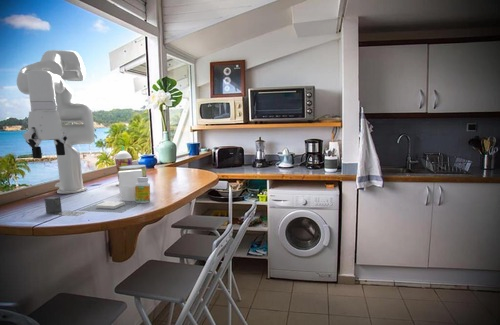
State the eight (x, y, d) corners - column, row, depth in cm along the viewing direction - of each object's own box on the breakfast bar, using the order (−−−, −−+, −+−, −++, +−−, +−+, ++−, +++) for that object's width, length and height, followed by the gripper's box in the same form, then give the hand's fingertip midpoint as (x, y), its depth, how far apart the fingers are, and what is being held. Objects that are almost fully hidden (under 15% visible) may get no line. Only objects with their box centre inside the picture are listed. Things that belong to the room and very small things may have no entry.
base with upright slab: (121, 203, 125) (118, 173, 123) (120, 198, 133) (117, 170, 131) (145, 200, 128) (142, 171, 127) (143, 196, 136) (140, 168, 135)
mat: (78, 212, 114) (77, 210, 114) (103, 203, 127) (102, 201, 126) (121, 214, 110) (121, 212, 110) (143, 204, 122) (142, 202, 122)
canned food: (151, 189, 149) (150, 164, 147) (141, 195, 138) (139, 168, 136) (128, 190, 150) (126, 165, 148) (116, 195, 139) (114, 168, 137)
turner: (43, 216, 111) (41, 199, 110) (55, 212, 115) (53, 196, 115) (77, 217, 107) (75, 200, 106) (88, 213, 112) (86, 197, 111)
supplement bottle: (136, 203, 120) (136, 177, 120) (134, 202, 125) (134, 177, 125) (151, 202, 123) (151, 177, 123) (148, 201, 127) (148, 177, 127)
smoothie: (117, 182, 170) (113, 145, 167) (133, 181, 173) (130, 144, 171) (117, 185, 162) (113, 146, 160) (134, 183, 166) (131, 145, 163)
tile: (95, 205, 116) (114, 205, 114) (106, 201, 122) (125, 201, 120) (96, 208, 116) (114, 209, 114) (107, 204, 122) (125, 204, 120)
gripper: (55, 108, 119) (61, 154, 121) (11, 107, 102) (18, 159, 105) (72, 107, 117) (77, 154, 119) (29, 106, 101) (36, 159, 103)
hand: (49, 156), depth 112 cm, fingers open, 9 cm apart
